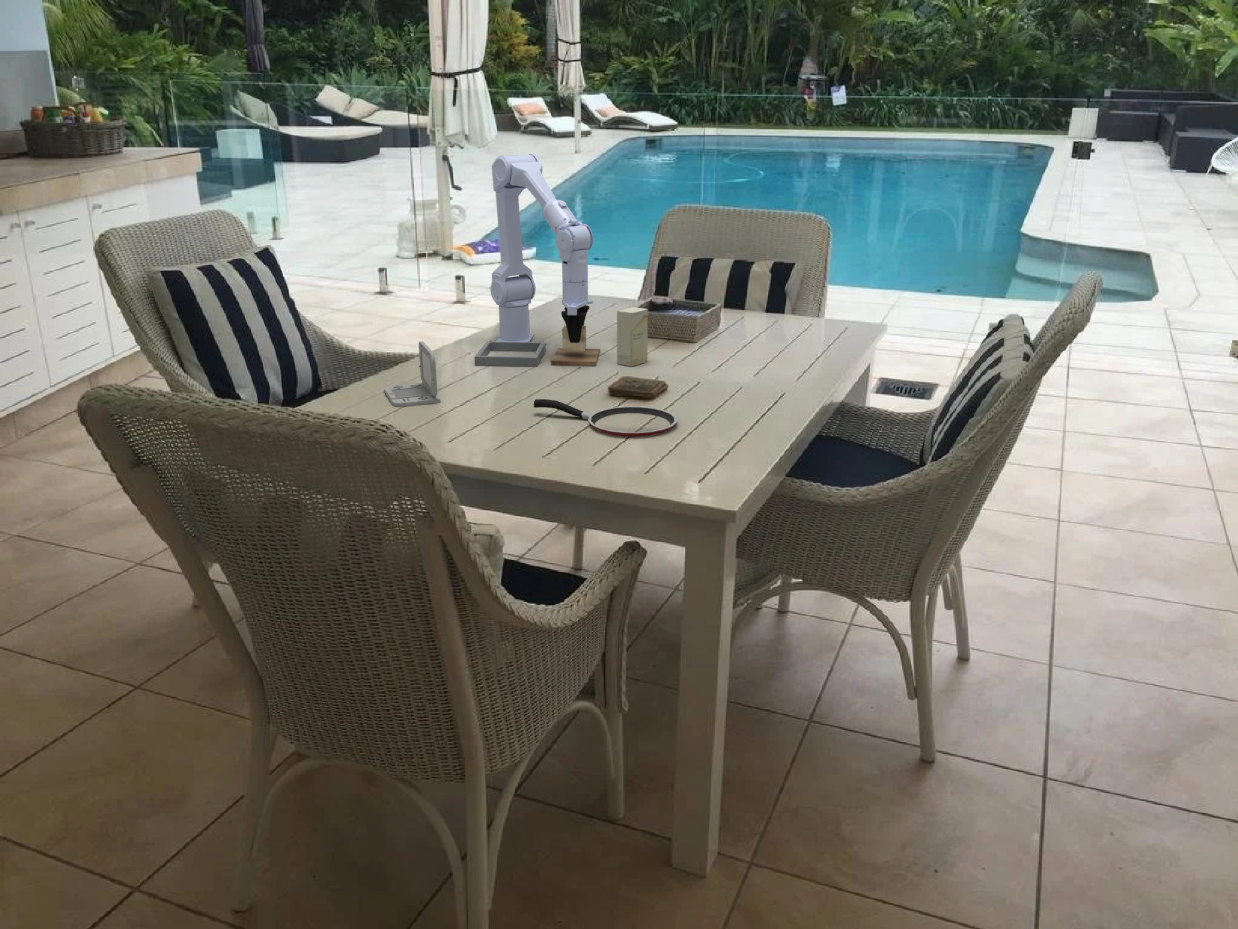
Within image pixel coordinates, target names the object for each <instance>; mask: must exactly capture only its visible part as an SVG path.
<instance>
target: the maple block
mask: <svg viewBox="0 0 1238 929" xmlns="http://www.w3.org/2000/svg"><path fill="white" fill-rule="evenodd" d="M561 336H562V340H561V342H562V343H561V344H562V347H561V348H563V351H585V349H587V325H584V326H582V331H581V338H580V342H579V343H570V340H569V336H568V331H567V327H566V324H565V325H563V327H562V330H561Z"/></svg>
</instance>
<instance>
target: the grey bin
mask: <svg viewBox="0 0 1238 929" xmlns="http://www.w3.org/2000/svg"><path fill="white" fill-rule="evenodd" d="M483 344H484V345H483V346H482V347H481V348H480V349H479V350H478V351H477V353H476V354H475V355H474V358H473V359H474V366H479V367H482V366H483V367H491V366H492V367H525V368H526V367H529V368H530V367H532V368H533V367H535V368H536V367H538V366H539V365H540V362H541V361H542V359H543V356H544V355H545V352H546V350H547V347H546V346H547V344H546V342H545V341H544V342H542V341H541V342H540V341H530V342H498V341H497V340H495V341H493V340H492V341H488V340H487V341H485V343H483ZM492 351H494V352H495V351H496V352H497V351H498V352H534V354H533V355H532V356H516V355H515V356H514V355H513V356H511V355H510V356H509V355H505V356H504V355H503V356H502V355H488V354H489V353H490V352H492Z"/></svg>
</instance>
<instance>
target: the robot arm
mask: <svg viewBox="0 0 1238 929" xmlns="http://www.w3.org/2000/svg"><path fill="white" fill-rule="evenodd" d="M491 174H492V186H493V192H495V201H496V202H495V203H496V204H495V205H496V212H497V213H496V214H497V226H498V227H497V228H498V229H497V230H498V237H499V238H498V239H499V240H498V242H499V254H500V264H499V265H498V267H497V268H496V269H495V270H493V272H492V273H491V284H490V288H489V289H490V290H489V291H490V296H491V298H492V300H493V301H494V303H495V305H497V306H498V319H499V322H498V323H499V324H498V326H499V336H498V338H497V339H496V341H498V342H531V340H532V338H533V337H534V335H535V334H534V332H530V330H531V329H530V328H531V324H530V322H531V321H530V310H529V309H530V308H529V306H530V304H532V300H533V299H534V297H535V295H536V292H537V291H536V283H535V280H534V278H533V271H532V269H531V268H529V267H528V266H527V265H526V264H524V258H523V242H522V232H521V231H522V229H521V227H522V226H521V214H520V203H519V201H520V199H519V196H521V194H522V192H524V190H525V189H527V190H528V191H529V192H530V193H531V195H532V196H533V197H534V199H535V200H536V201H537V202H538V203H539V205H540V206H541V207H542V208H543V211H542V216H543V218H544V220H545V221H546V223H547V224H548V225H549V227H550V228H551V230H552V232H553V233H554V235H555V236H556V238H555V244H556V247H557V250H558V252H559V254H558V256H559V258H560V261H561V271H562V272H561V273H562V274H561V276H562V278H561V279H562V281H561V282H562V283H561V284H562V300H561V304H562V305H563V306H564V310H561V313H560V314H561V317H562V320H563V321H564V324H565V326H566V327H567V331H568V336H569V340H570V343H579V342H580V338H581V331H582V326H585V321H586V318H587V314H588V312H589V310H590V305H593V304H594V299H591V298H590V299H589V271H588V270H589V266H588V265H589V260H588V259H589V258H588V257H589V256H588V254H589V252H588V251H589V250H591V248H592V247H593V243H594V235H593V232H592V229H591V227H590V226H589V225H588V224H585V223H582V221H578V220H577V217H576V216H575V215H574V213H572V210H570V208H569V207H568V204H567V202H565V201H564V200H561V199H557V198H556V196H555V195H554V193H553V191H552V189H551V188H550V186H549V184H548V182H547V181H546V179H545V177H544V175H543V164H542V163H541V162H540V160H539V158H538V156H537V155H536V154H534V153H528V154H519V155H518V154H517V155H498V156H497V157H496V159H495V160H494V162H493V163H492V165H491Z"/></svg>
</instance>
